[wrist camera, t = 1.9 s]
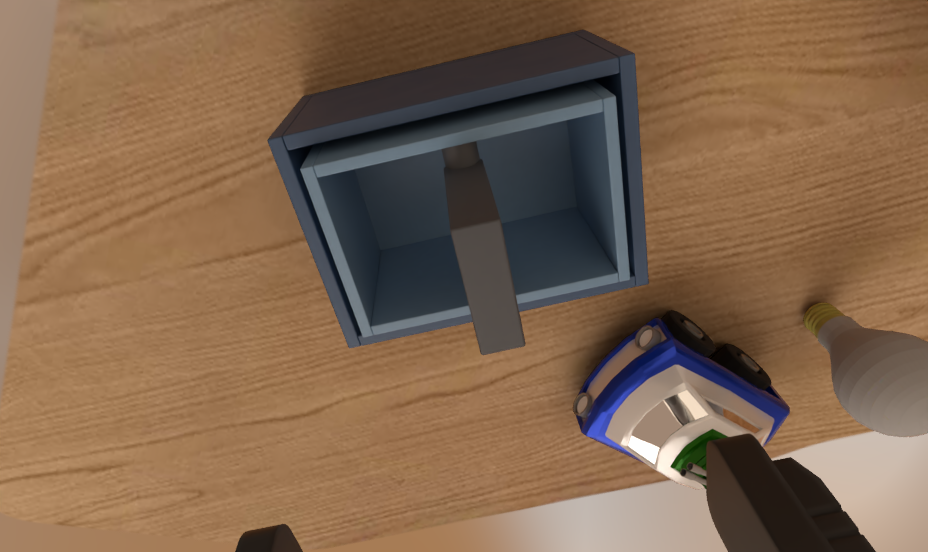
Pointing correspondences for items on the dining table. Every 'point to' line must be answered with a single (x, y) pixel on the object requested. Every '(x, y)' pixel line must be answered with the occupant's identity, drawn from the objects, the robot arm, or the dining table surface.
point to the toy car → (676, 398)
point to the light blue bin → (475, 211)
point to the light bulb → (875, 372)
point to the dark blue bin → (448, 93)
